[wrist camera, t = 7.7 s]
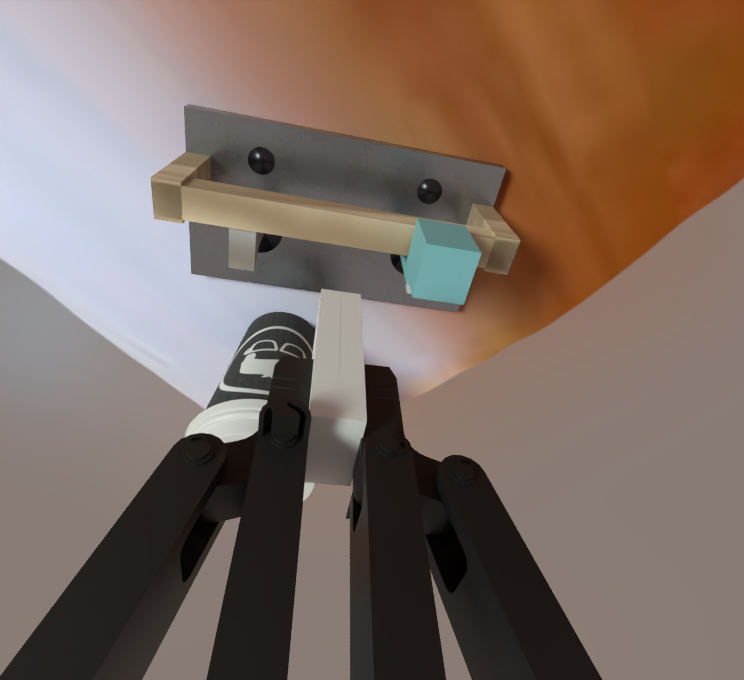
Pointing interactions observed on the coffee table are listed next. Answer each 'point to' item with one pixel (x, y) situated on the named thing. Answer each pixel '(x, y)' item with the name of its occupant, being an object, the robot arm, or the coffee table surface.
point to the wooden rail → (305, 217)
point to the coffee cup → (254, 378)
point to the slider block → (440, 262)
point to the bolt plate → (329, 199)
